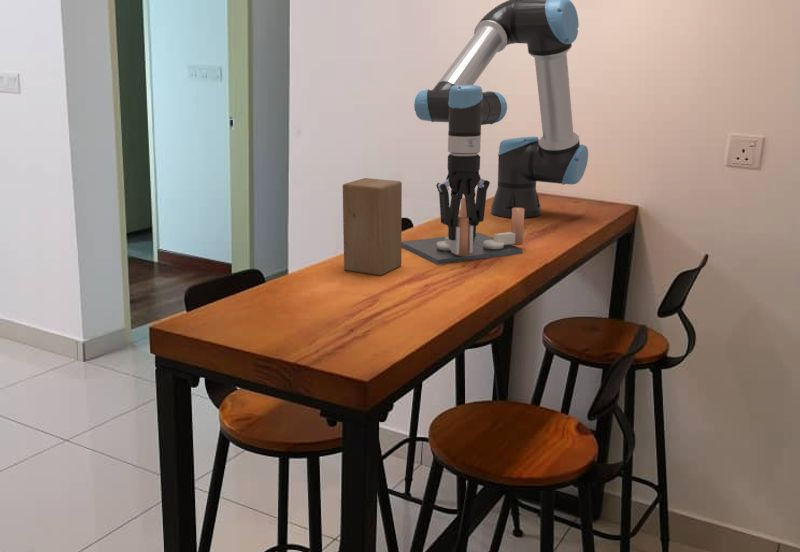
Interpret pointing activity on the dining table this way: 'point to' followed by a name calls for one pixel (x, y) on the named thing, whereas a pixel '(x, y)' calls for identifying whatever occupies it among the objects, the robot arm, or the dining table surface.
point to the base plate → (431, 253)
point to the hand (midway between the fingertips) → (461, 252)
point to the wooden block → (372, 225)
